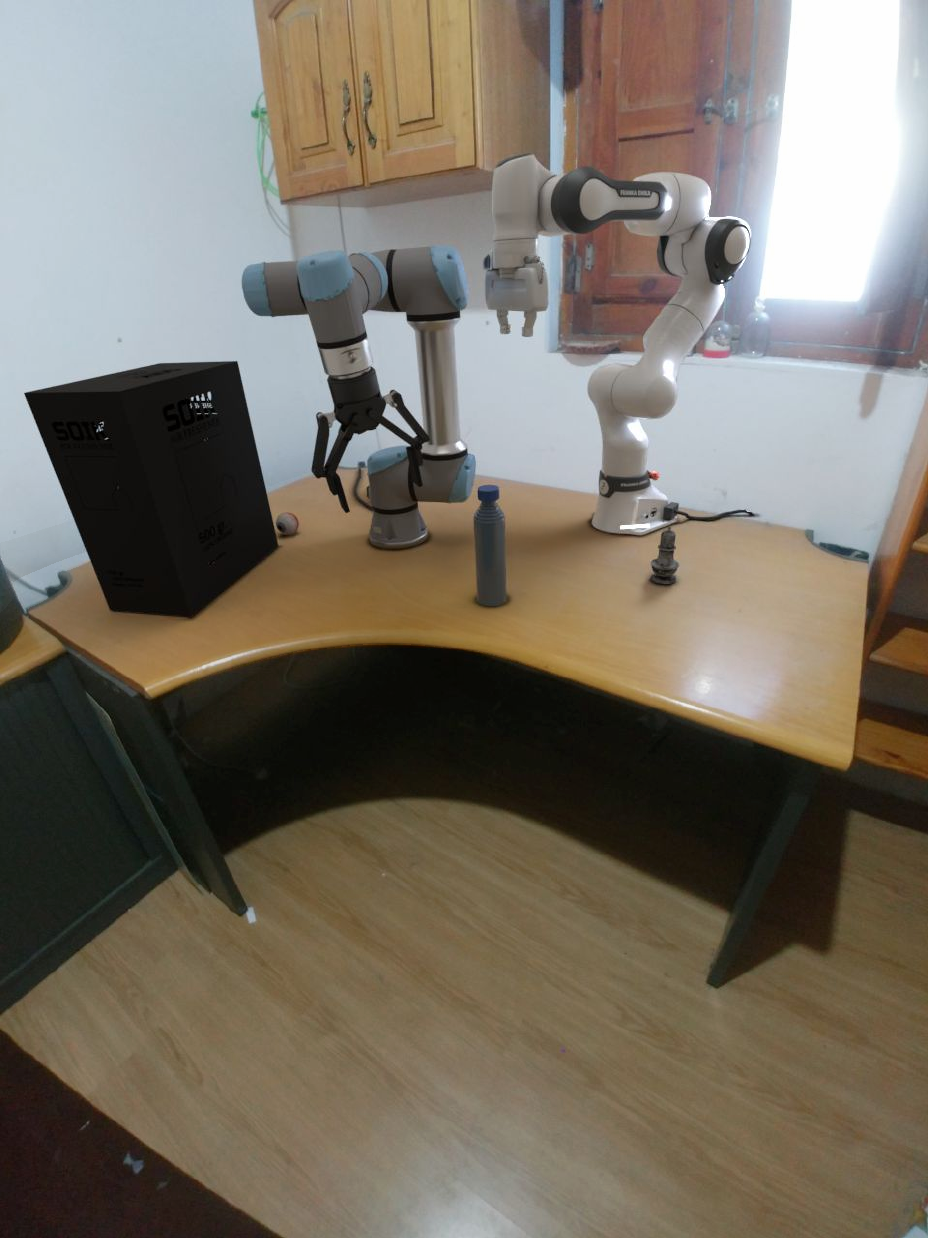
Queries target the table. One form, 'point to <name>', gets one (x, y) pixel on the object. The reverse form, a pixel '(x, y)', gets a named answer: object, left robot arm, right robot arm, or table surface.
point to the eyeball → (287, 523)
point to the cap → (488, 493)
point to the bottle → (490, 554)
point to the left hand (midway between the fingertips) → (382, 496)
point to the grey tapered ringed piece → (665, 559)
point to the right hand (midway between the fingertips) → (516, 335)
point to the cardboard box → (160, 481)
